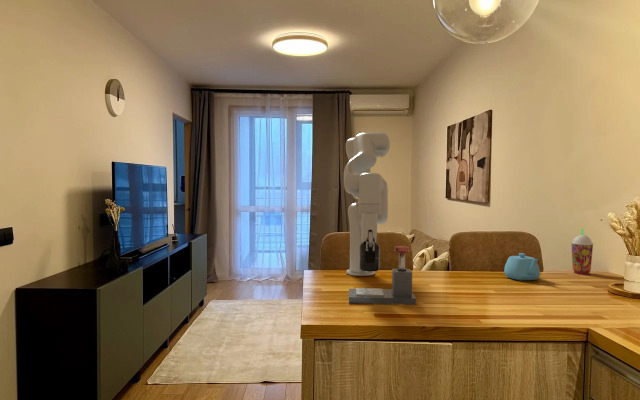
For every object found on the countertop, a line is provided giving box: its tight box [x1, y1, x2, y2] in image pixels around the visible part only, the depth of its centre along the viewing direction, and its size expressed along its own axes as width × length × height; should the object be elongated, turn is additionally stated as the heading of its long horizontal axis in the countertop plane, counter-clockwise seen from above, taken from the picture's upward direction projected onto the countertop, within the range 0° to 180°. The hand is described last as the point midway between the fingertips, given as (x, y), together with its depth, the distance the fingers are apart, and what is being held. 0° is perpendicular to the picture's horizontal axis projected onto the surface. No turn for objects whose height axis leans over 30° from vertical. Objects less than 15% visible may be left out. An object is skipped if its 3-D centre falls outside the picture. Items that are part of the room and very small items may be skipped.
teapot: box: [503, 252, 541, 281], centre depth 177 cm, size 13×11×18 cm
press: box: [348, 268, 417, 305], centre depth 145 cm, size 12×22×10 cm, turn 86°
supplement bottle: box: [359, 235, 381, 272], centre depth 145 cm, size 7×7×12 cm
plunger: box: [394, 245, 410, 271], centre depth 144 cm, size 5×5×12 cm
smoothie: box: [570, 228, 594, 276], centre depth 189 cm, size 8×8×20 cm
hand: (369, 260), depth 145 cm, fingers closed on supplement bottle, 6 cm apart
